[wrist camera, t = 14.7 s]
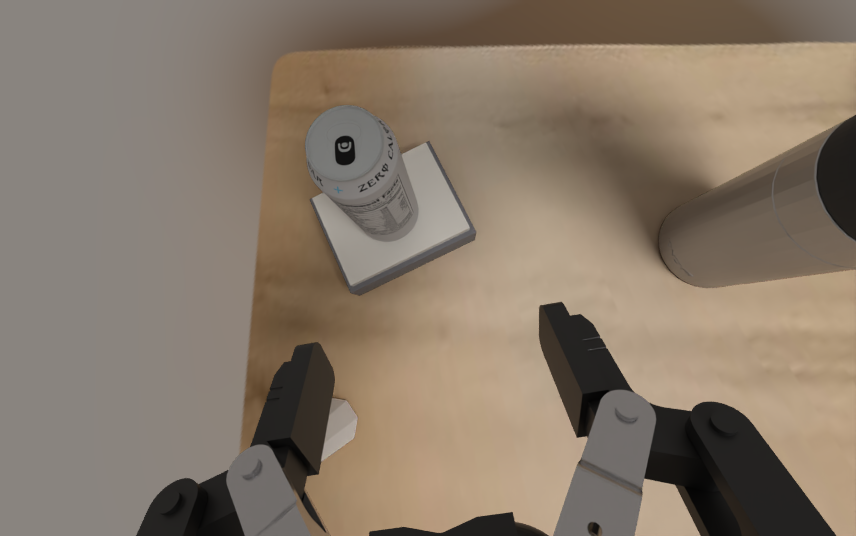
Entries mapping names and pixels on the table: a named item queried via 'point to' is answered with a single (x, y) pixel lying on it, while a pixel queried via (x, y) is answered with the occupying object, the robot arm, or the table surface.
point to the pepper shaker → (339, 427)
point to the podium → (429, 239)
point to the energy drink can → (362, 171)
